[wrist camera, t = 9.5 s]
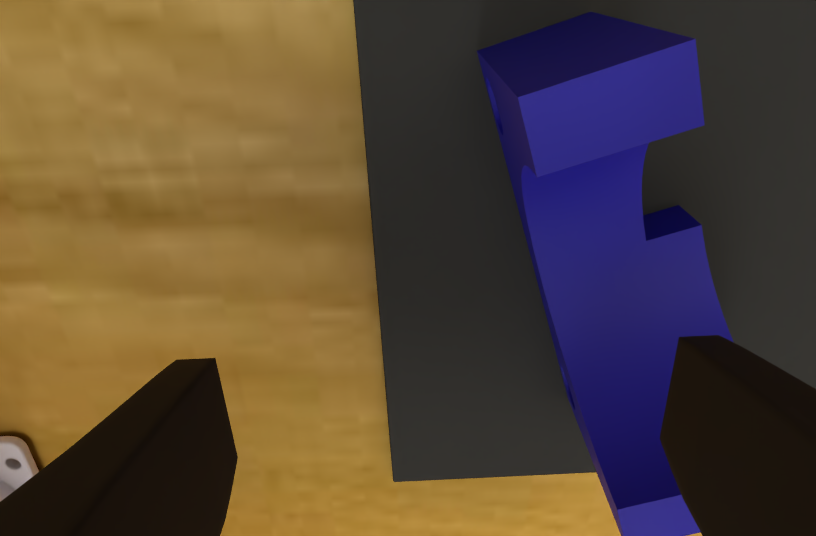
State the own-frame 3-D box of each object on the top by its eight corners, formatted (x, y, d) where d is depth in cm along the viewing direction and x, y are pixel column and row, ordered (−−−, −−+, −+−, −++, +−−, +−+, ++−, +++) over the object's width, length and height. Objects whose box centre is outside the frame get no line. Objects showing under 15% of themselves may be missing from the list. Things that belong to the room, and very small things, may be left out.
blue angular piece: (699, 364, 20) (807, 507, 15) (567, 398, 21) (626, 548, 16) (650, -9, 15) (789, 7, 10) (476, 50, 16) (517, 96, 10)
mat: (816, 453, 23) (823, 461, 22) (393, 474, 23) (393, 482, 23) (1043, -207, 14) (1060, -212, 13) (340, -167, 14) (339, -170, 13)
